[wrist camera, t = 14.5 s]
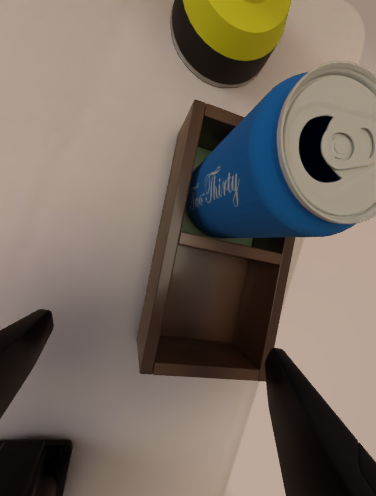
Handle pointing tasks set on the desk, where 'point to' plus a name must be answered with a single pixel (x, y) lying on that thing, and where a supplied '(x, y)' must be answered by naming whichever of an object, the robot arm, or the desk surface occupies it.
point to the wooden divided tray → (209, 278)
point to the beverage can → (294, 161)
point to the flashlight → (227, 37)
